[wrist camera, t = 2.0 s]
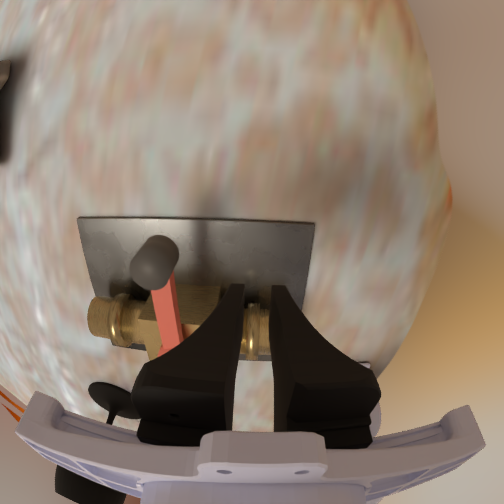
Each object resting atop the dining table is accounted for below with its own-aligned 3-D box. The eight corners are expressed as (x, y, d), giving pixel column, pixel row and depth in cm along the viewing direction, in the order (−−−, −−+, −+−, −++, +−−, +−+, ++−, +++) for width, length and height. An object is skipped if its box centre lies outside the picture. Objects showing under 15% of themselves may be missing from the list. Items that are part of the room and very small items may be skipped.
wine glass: (116, 379, 33) (75, 500, 16) (159, 416, 38) (136, 524, 20) (77, 384, 36) (37, 482, 18) (117, 418, 40) (91, 509, 22)
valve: (313, 223, 22) (329, 256, 17) (291, 358, 30) (295, 399, 25) (78, 217, 22) (44, 244, 17) (113, 343, 30) (97, 377, 25)
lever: (196, 363, 22) (191, 386, 20) (164, 359, 22) (157, 382, 20) (181, 234, 17) (169, 254, 14) (139, 233, 17) (122, 252, 14)
